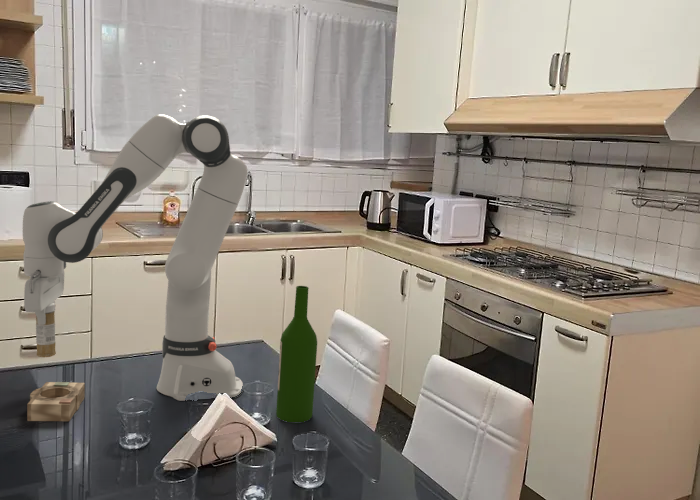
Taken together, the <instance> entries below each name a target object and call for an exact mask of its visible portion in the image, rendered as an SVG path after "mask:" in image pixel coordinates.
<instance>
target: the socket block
mask: <svg viewBox="0 0 700 500" xmlns="http://www.w3.org/2000/svg"><path fill="white" fill-rule="evenodd" d="M85 385H86V384H85V382H69V381H56V382H55V381H45V383H44V384H43V385H42V387H40V388H36V389H34V390H33V391H32V392H31V393H30V395H29V401H28V403H27V404H26V405H27V406H26V407H27V408H26V409H27V410H26V411H27V413H26V415H27V417H26V418H27V422H70V421H71V419H72V418H73V416H74V415H75V414H76V413H77V411H78V410H79V409H80V406H81V404H82V403H83V402H84V400H85V395H86V394H85V393H86V392H85V391H86V390H85V389H86V388H85V387H86V386H85Z"/></svg>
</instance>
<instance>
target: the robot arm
mask: <svg viewBox="0 0 700 500" xmlns="http://www.w3.org/2000/svg"><path fill="white" fill-rule="evenodd" d="M187 153H188V154H189V155H191V156H193V157H194V158H195V159H196V160H198V161H199V162H201V163H202V164H203V173H202V176H201V178H200V181H199V183H198V186H197V188H196V190H195V193H194V196H193V198H192V200H191V202H190V205H189V207H188V210H187V212H186V214H185V216H184V219H183V222H182V223H181V225H180V227H179V230H178V233H177V236H176V237H175V239H174V242H173V244H172V246H171V249H170V251H169V253H168V256H167V258H166V261H165V263H164V264H165V265H164V272H165V273H164V274H165V276H166V279H167V293H166V302H165V303H166V304H165V318H164V319H165V322H164V335H163V337H162V344H161V354H162V364H161V371H160V375H159V379H158V383H157V385H156V390H157V392H158V393H161V394H163V395H165V396H168V397H171V398H173V399H174V400H175V401H176V400H177V401H181V402H182V401H185V398H186V396H187V395H188V394H191V393H195V392H198V391H204V392H207V393H216V394H219V393H227V394H228V395H229V396H230V397H231V398H230V399H232V397H235V396H237V395H239V394H240V393H241V389H242V386H243V387H244V383H243V380H241V378H239V377H237V376H236V372H235V367H234V365H233V363H232V362H231V360H229V359H228V358H226V357H225V356H224V355H222V354H221V353H220V352H219V351H217V350H216V349H217V343H216V339H215V337H214V336H210V335H209V316H210V298H211V280H212V270H213V267H214V264H215V262H216V258H217V257H218V254H219V252H220V249H221V246H222V244H223V242H224V238H225V236H226V234H227V232H228V229H229V226H230V225H231V222H232V219H233V217H234V215H235V213H236V210H237V208H238V205H239V203H240V200H241V198H242V195H243V192H244V189H245V185H246V182H247V176H248V166H247V165H246V163H245V162H244V161H243V160H242V159H241V158H240V157H238V156H237V155H235V154H233V153H231V146H230V137H229V132H228V130H227V127H226V126H225V124H224V123H223V122H222V121H221V120H220V119H218V118H217V117H215V116H211V115H209V114H208V115H205V114H204V115H198V116H195V117H194V118H192V119H191V120H190V121H187V122H185V123H181V122H179V121H178V120H176V119H175V118H173V117H172V116H170V115H166V114H161V113H160V114H156V115H153V116H152V117H151V118H150V119H149V120H147V121H146V122H145V123H144V124H143V125H142V126H140V128H139V129H138V130H136V132H135V133H134V134H133V135H132V136H131V138H129V139H128V140H127V142H126V143H125V144H124V145H123V147H122V149H121V150H120V151H119V153H118V155H117V156H116V158H115V160H114V161H113V163H112V164H111V167H110V168H109V171H108V172H107V174H106V176H105V177H104V179H103V181H102V182H101V183H100V185H99V186H98V187H97V189H96V190H95V191H94V192H93V193H92V195H91V196H90V197H88V199H87V200H86V201H85V202H84V203H83V205H82V206H81V207H80V208H79V209H78V211H77V212H75V211H72V210H70V209H68V208H66V207H64V206H62V205H61V204H60V203H59V202H57V201H54V200H53V201H52V200H51V201H50V200H49V201H41V202H38V203H33V204H30V205H28V206H27V207H26V208H25V209H24V211H23V215H22V241H23V243H24V252H23V274H24V276H26V277H29V279H27V280H26V281H25V283H24V291H23V292H24V293H23V296H24V297H23V302H24V303H23V304H24V305H23V307H24V310H25V312H26V313H34V314H35V318H36V317H37V323H38V325H44V324H45V323H46V322H47V316H46V315H45V311H46V307H47V306H48V305H50V304H51V303H52V302H53V303H55V304H56V300H58V298H59V297H61V296H62V295H63V293H64V289H65V288H64V287H65V269H66V268H67V263H69V264H73V263H79V262H81V261H84V260H85V259H87V258H88V257H89V255H90V254H91V253H92V252H93V251H95V249H96V248H98V246H99V245H100V244H101V242H102V240H103V237H104V233H103V232H104V231H103V226H104V225H105V224H106V222H108V220H109V219H110V218H111V217H112V215H113V214H114V213H115V211H117V210H118V208H119V207H120V206H121V205H122V204H123V203H124V202H126V200H129V198H131V197H132V196H134V195H136V194H138V193H140V192H142V191H143V190H145V189H146V188H147V187H148V186H150V185H151V184H152V183H154V182H155V181H156V180H157V179H158V178H159V177H160V176H161V175H162V174H163V173H164V172H165V170H166V169H167V168H168V167H169V165H170V164H171V163H172V162H173V161H174V160H175V159H176V158H177V157H178V156H180V155H181V154H187ZM241 394H242V393H241ZM241 394H240V395H241ZM240 395H239V396H240ZM237 397H238V396H237ZM235 398H236V397H235Z"/></svg>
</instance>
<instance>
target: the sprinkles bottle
mask: <svg viewBox="0 0 700 500" xmlns="http://www.w3.org/2000/svg"><path fill="white" fill-rule="evenodd" d="M55 312H56V302H55V303H53V302H52V303H51V304H50V305H48V306H47V307H46V311H45V315H46V316H47V322H46V323H45V324H44V325H38V323H37V317H36V316H35V330H36V331H35V334H36V336H35V338H36V339H35V341H36V356H37V357H38V358H51V357H54V356H56V355H57V354H56V353H57V351H56V322H55V321H56V320H55Z"/></svg>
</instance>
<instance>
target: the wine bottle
mask: <svg viewBox="0 0 700 500" xmlns="http://www.w3.org/2000/svg"><path fill="white" fill-rule="evenodd" d="M309 289H310V288H309V286H306V285H297V286H296V287H295V297H294V298H295V301H294V313H293V317H292V320H290V322H289V323H288V325H287V326H286V328H285V329H284V330H283V332H282V333H281V337H280V343H279V356H278V357H279V358H278V359H279V360H278V375H277V377H278V378H277V390H276V391H277V395H276V409H275V411H276V413H275V415H276V418H277V417H278V418H280V419H281V420H284V421H287V422H303V423H305V422H304V421H307V420H309V419H310V418H311V419H312V418H313V411H314V410H313V409H314V400H315V399H314V395H315V382H316V381H315V380H316V367H317V355H318V352H317V351H318V338H317V337H318V336H317V334H316V332H315V329H313V327H312V324H311V323H310V320H308V304H309V302H308V301H309ZM278 418H277V419H278ZM280 419H279V420H280ZM311 419H310V420H311ZM281 420H280V421H281ZM310 420H309V421H310ZM284 421H283V422H284ZM287 422H286V423H287ZM307 422H308V421H307Z"/></svg>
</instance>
